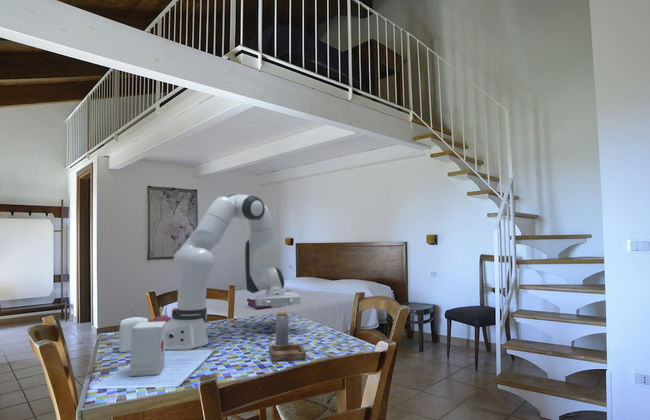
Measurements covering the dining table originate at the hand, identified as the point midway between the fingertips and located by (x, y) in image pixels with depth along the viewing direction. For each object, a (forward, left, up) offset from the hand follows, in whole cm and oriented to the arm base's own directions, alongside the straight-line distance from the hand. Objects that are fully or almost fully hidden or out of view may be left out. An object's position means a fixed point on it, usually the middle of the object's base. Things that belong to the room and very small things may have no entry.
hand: (279, 302), depth 175 cm
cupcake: (-51, +21, -15) cm, 58 cm away
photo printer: (-56, -10, -15) cm, 59 cm away
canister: (0, -13, -15) cm, 20 cm away
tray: (0, -28, -15) cm, 31 cm away
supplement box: (-46, -36, -15) cm, 60 cm away
